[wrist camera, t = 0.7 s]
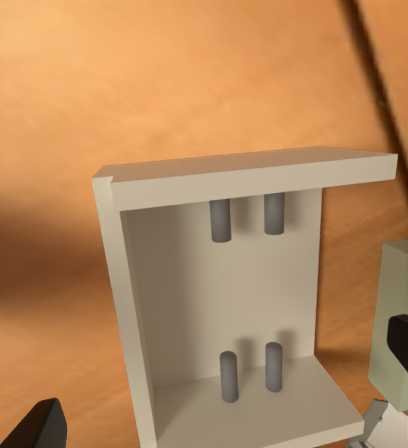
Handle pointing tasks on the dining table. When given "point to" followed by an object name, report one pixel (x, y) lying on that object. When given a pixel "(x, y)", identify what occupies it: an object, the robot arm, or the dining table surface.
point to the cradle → (227, 294)
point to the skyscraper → (382, 428)
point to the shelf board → (385, 308)
